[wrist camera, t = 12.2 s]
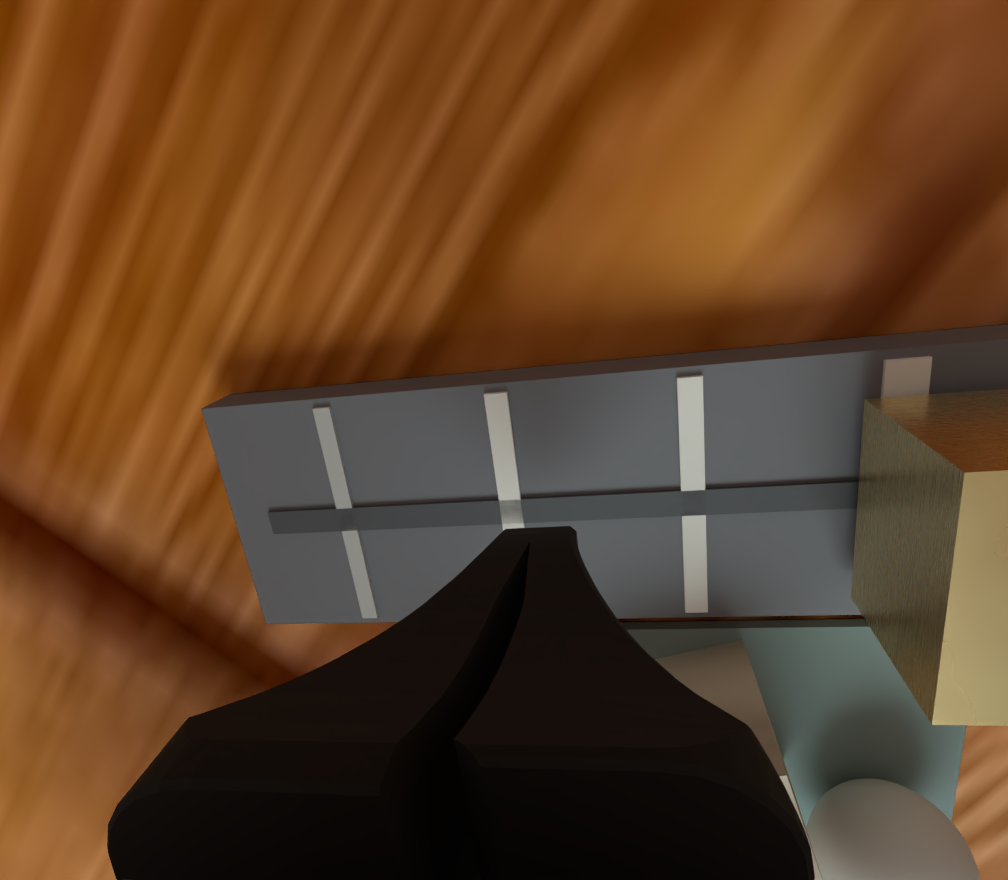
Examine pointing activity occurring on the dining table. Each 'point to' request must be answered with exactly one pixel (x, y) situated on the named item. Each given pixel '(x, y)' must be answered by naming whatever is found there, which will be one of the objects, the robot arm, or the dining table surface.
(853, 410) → the board
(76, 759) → the dining table surface
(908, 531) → the tan cardboard cube
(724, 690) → the birch block
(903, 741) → the slate mat
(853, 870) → the grey ball
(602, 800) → the robot arm
